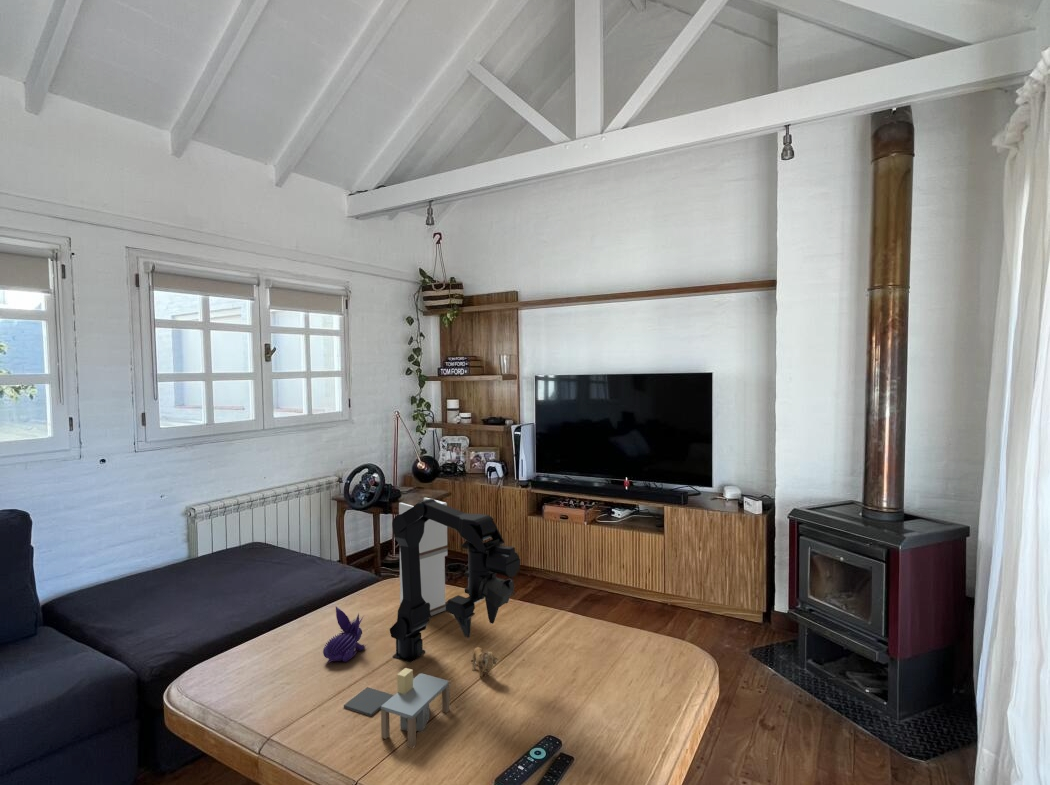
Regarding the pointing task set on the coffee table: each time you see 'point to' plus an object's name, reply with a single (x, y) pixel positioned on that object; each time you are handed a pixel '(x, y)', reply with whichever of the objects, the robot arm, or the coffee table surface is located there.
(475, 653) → the lion figurine
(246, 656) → the coffee table surface
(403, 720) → the dice cube
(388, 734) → the small grey table
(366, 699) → the mat
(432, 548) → the white square tower
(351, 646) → the creature
